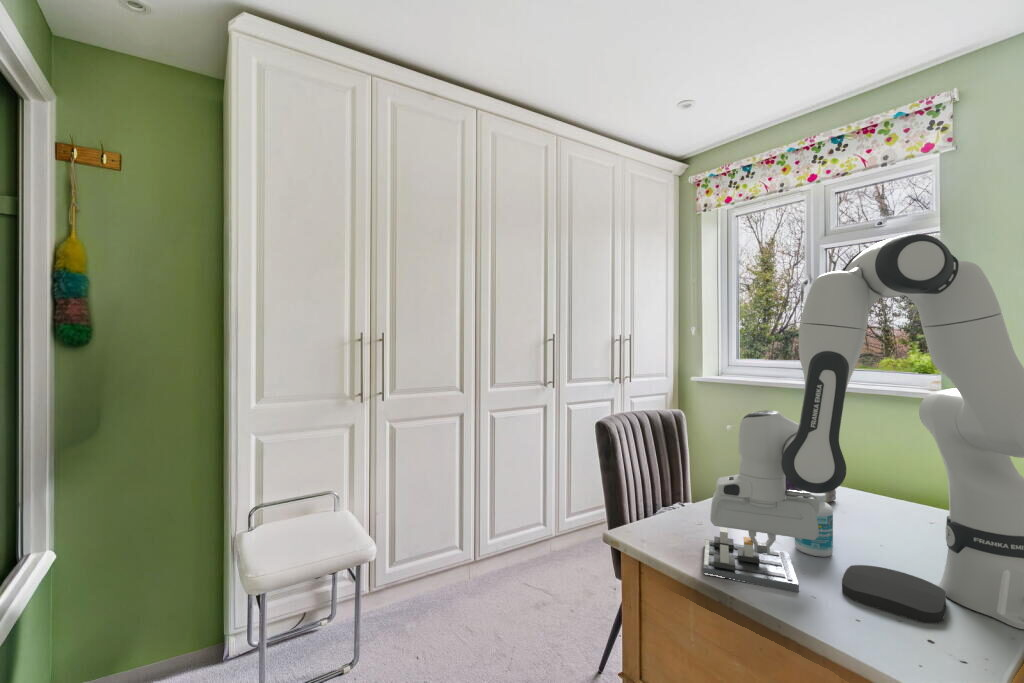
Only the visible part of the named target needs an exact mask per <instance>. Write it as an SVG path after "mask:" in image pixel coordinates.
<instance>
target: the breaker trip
mask: <svg viewBox="0 0 1024 683" xmlns="http://www.w3.org/2000/svg"><path fill="white" fill-rule="evenodd" d="M743 545H744V550H743V549H738V560H741V561H747V562H753V563H759V564H760V558H759V553H757V552H755V551H753V547H754V543H753V542H752V540H751V538H750V537H749V536H747V537H746V536H743Z"/></svg>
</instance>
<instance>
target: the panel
mask: <svg viewBox="0 0 1024 683" xmlns="http://www.w3.org/2000/svg"><path fill="white" fill-rule="evenodd" d="M738 549H743V550H744V544H738V543H734V550H733V549H729V557H732V558H735V570H731V569H725V568H719V567H714V555H720V547H714V539H713V540H712V539H704V551H703V552H704V553H703V569H702V570H703V572H704V573H708V574H713V575H718V576H722V577H725V578H731V579H735V580H740V581H745V582H749V583H748V584H750V583H754V584H753V585H756V584H758V585H757V586H761V585H764V586H763V587H767V586H770V587H769V588H772V587H774V588H773V589H778V588H779V590H784V591H789V592H796V593H800V584H799V580H798V578H797V575H796V572H795V569H794V566H793V562H792V560H791V557H790V554H789V552H788V551H784V550H777V549H771V548H770V555H769V554H763V553H759V558H760V564H759V563H753V562H747V561H741V560H738ZM753 551H754V546H753ZM745 582H744V583H745Z"/></svg>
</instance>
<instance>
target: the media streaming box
mask: <svg viewBox="0 0 1024 683" xmlns="http://www.w3.org/2000/svg"><path fill="white" fill-rule="evenodd" d="M842 575H843V576H842V579H841V591H842V594H844V596H845V597H847V598H849V599H850V600H852V601H854V602H856V603H860V604H862V605H865V606H868V607H870V608H871V607H872V608H874V609H878V610H881V611H884V612H886V613H890V614H893V615H896V616H899V617H902V618H907V619H909V620H911V621H912V620H913V621H916V622H920V623H924V624H940V623H942V622H943V621H944V618H945V614H946V607H947V606H946V605H947V603H946V602H947V600H946V598H947V596H946V592H945V591H944V590H943V589H942V588H940V587H939V585H937V584H934V583H933V582H931V581H929V580H925V579H924V578H921V577H918V576H915V575H913V574H908V573H906V572H902V571H899V570H895V569H891V568H886V567H880V566H875V565H867V564H866V565H865V564H854V565H850V566H848V567H847V568H846V569H845V571H844V573H843V574H842Z"/></svg>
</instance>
